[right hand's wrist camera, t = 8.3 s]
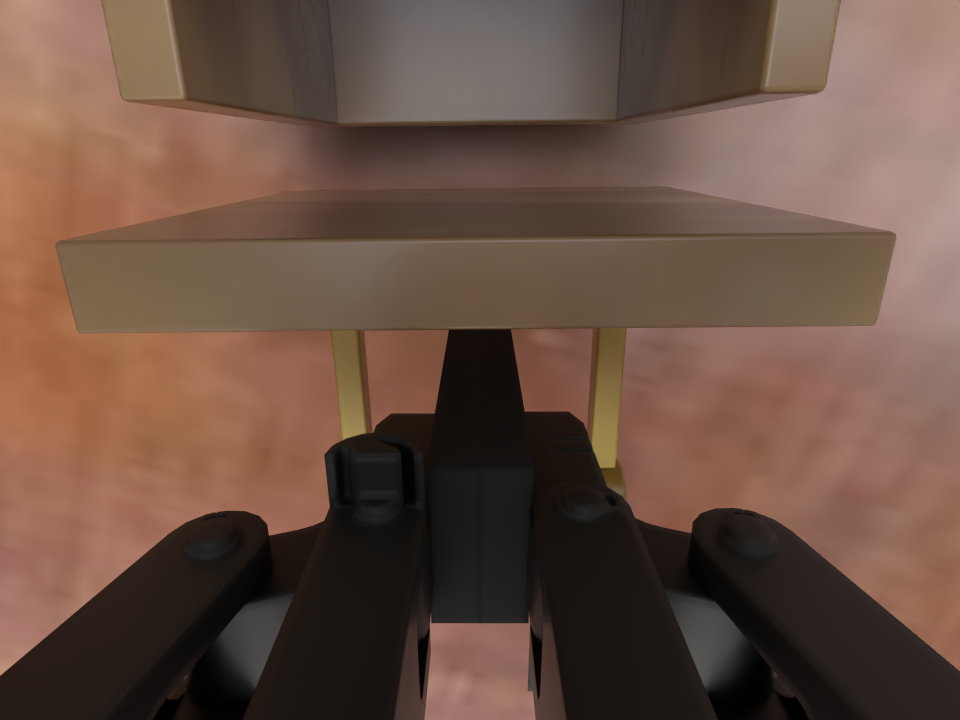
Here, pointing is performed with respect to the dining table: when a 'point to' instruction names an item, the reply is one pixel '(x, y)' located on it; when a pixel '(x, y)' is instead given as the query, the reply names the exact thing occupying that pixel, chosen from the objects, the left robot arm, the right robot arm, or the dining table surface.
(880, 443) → the dining table surface
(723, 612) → the right robot arm
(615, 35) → the drawer
